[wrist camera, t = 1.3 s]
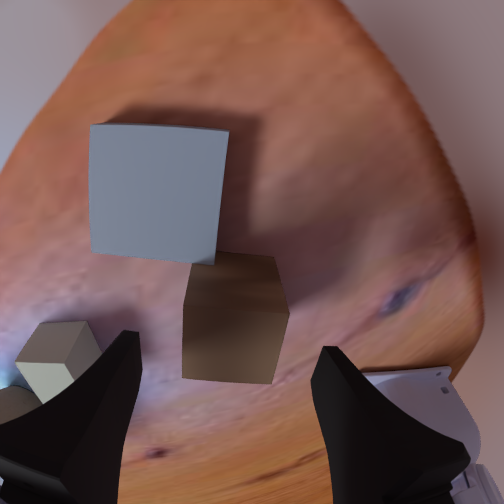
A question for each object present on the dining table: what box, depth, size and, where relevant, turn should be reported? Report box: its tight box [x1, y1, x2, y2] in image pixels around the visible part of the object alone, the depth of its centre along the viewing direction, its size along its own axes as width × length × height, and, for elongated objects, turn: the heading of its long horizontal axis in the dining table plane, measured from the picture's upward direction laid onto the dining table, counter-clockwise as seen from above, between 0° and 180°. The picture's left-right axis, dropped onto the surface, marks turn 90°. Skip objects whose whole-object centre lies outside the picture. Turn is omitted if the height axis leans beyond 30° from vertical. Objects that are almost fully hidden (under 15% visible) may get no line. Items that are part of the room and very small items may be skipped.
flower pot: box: [0, 386, 43, 424], centre depth 18 cm, size 10×10×7 cm
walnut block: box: [182, 251, 290, 384], centre depth 15 cm, size 4×4×5 cm
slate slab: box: [89, 123, 229, 265], centre depth 14 cm, size 6×6×2 cm
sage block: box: [15, 321, 102, 404], centre depth 17 cm, size 4×4×4 cm
